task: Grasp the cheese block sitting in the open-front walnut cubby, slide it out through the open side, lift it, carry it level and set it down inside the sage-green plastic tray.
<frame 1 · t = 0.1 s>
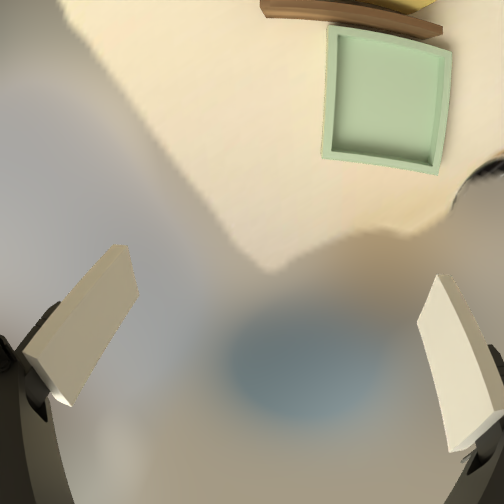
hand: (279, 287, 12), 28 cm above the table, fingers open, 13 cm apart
tray: (385, 99, 31), on the table
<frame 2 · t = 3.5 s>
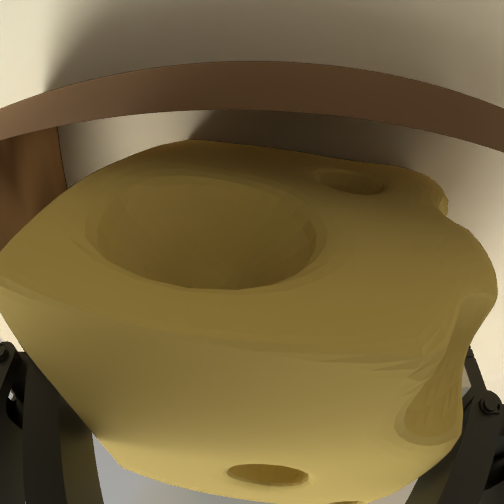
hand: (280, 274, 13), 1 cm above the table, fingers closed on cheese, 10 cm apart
cheese: (280, 253, 14), on the table, touching gripper
cubby: (219, 249, 15), on the table
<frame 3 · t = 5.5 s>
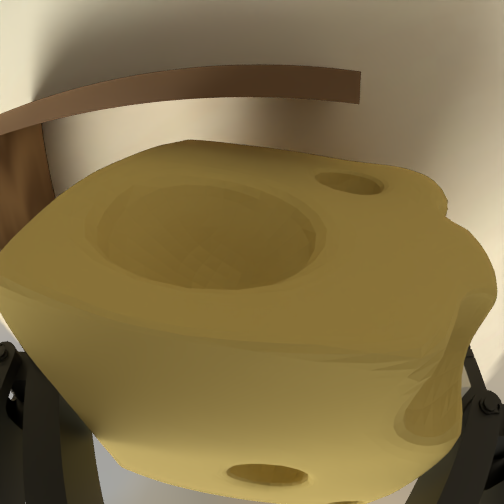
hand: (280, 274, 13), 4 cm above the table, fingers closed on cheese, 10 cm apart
cheese: (280, 253, 14), point 3 cm above the table, touching gripper
cubby: (160, 215, 18), on the table
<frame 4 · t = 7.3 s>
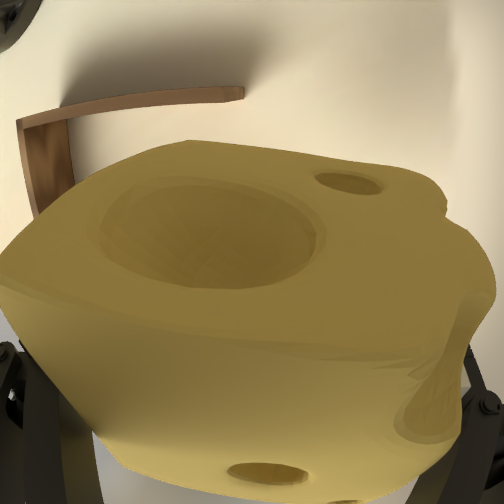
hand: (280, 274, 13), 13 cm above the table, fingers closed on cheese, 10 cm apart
cheese: (281, 253, 14), point 12 cm above the table, touching gripper
cubby: (141, 179, 26), on the table
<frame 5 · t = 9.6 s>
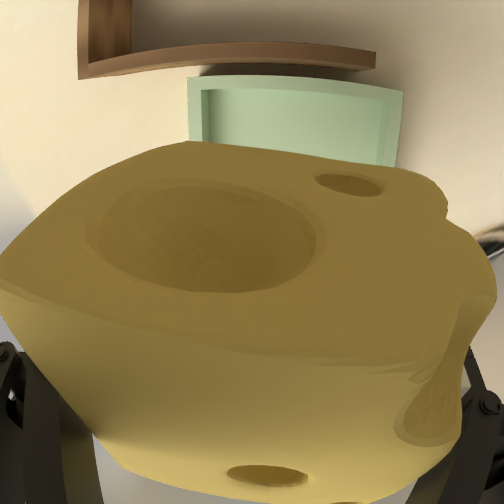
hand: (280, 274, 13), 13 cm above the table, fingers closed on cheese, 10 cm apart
cheese: (280, 254, 14), point 12 cm above the table, touching gripper
tray: (291, 175, 24), on the table
when the fingers open (3 cm above the table, at t = 11.5 s): cheese drops 1 cm, resting on tray.
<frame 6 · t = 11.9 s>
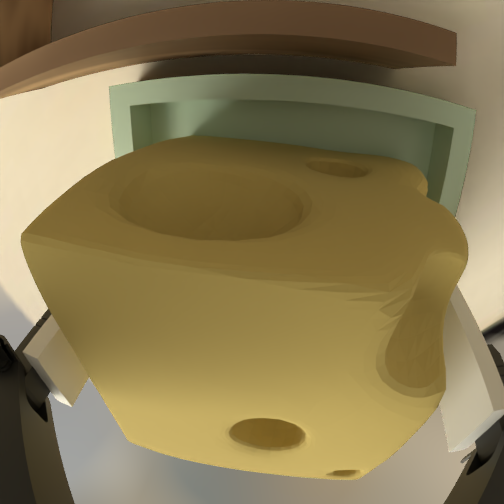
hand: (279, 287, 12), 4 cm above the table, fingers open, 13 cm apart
cheese: (278, 239, 16), resting on tray
tray: (285, 237, 16), on the table
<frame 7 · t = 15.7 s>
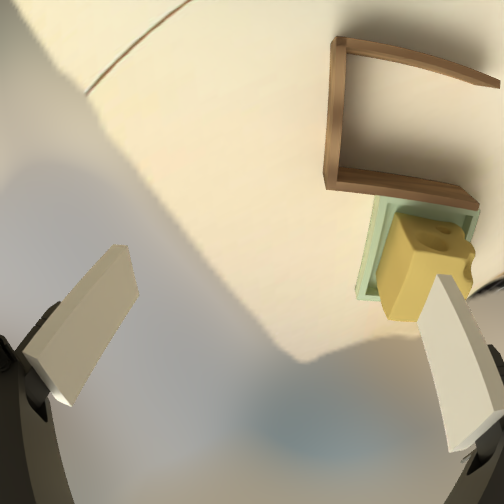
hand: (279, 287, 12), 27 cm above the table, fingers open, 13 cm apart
cheese: (413, 248, 39), resting on tray
tray: (414, 247, 39), on the table
cubby: (405, 120, 31), on the table
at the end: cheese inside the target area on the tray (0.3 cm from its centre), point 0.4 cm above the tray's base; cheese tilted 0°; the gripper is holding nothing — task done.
